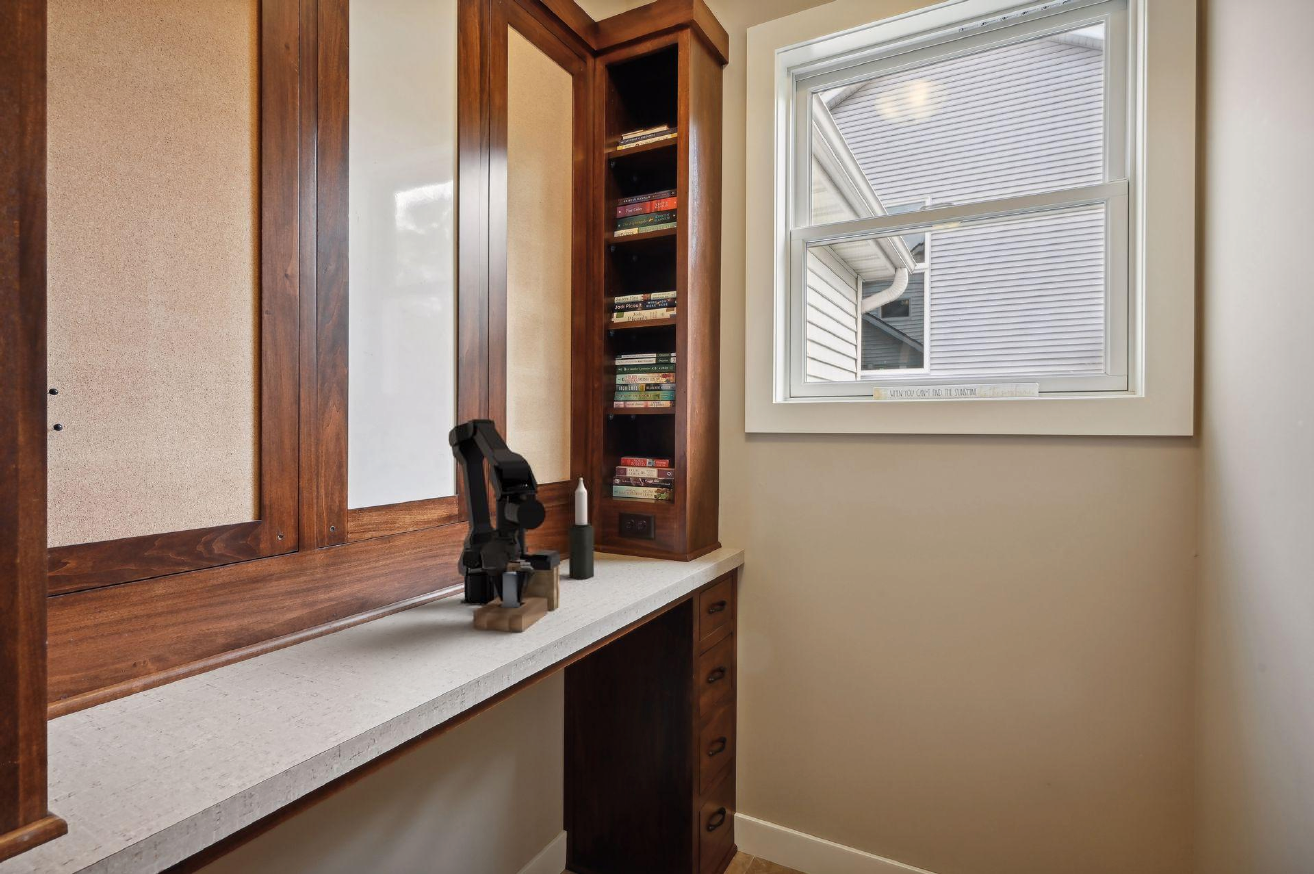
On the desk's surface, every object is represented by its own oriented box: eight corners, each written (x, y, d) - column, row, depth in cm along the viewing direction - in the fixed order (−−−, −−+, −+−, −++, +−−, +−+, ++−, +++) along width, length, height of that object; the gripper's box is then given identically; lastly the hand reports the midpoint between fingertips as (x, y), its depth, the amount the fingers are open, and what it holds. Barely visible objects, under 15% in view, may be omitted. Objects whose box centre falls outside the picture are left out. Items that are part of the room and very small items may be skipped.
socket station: (471, 628, 127) (470, 577, 127) (511, 603, 144) (511, 558, 144) (524, 632, 125) (524, 580, 124) (559, 606, 142) (559, 560, 141)
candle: (567, 577, 167) (566, 478, 167) (578, 573, 172) (578, 476, 171) (584, 580, 165) (583, 479, 164) (595, 575, 169) (595, 477, 169)
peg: (500, 615, 130) (499, 575, 130) (507, 611, 134) (507, 571, 133) (515, 616, 130) (514, 576, 129) (522, 612, 133) (522, 572, 133)
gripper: (445, 527, 125) (446, 610, 126) (538, 531, 121) (539, 616, 122) (475, 519, 136) (475, 594, 137) (561, 522, 132) (561, 600, 132)
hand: (511, 601), depth 132 cm, fingers closed on peg, 3 cm apart
